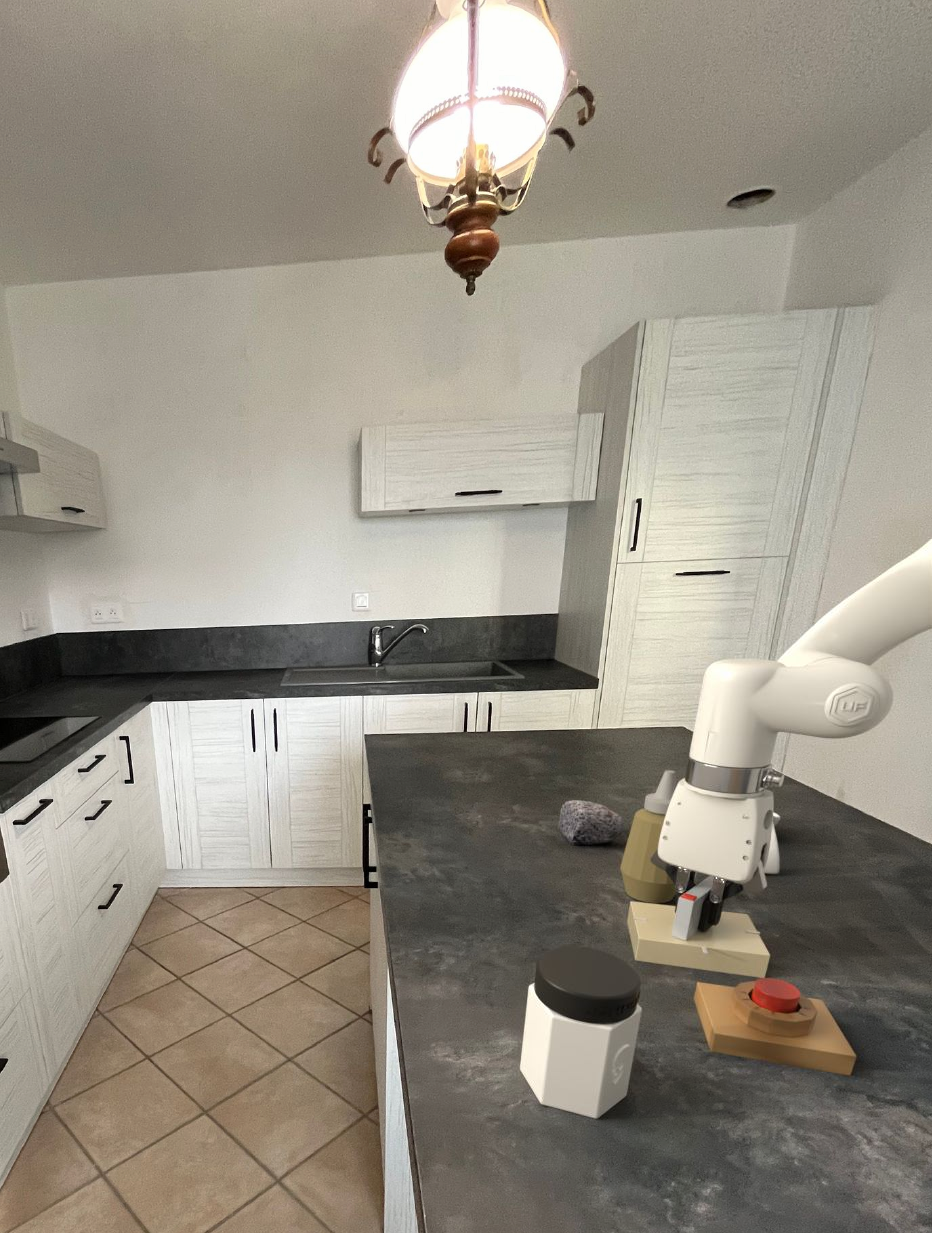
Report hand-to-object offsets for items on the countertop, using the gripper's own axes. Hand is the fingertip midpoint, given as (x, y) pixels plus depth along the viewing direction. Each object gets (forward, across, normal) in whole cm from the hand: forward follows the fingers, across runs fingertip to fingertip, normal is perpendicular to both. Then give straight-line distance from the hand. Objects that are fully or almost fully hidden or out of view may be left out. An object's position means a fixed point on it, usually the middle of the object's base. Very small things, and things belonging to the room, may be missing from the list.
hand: (695, 923), depth 81 cm
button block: (+3, -12, +12) cm, 17 cm away
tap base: (+3, 0, 0) cm, 3 cm away
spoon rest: (+4, +8, -38) cm, 39 cm away
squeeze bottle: (+4, +10, -10) cm, 15 cm away
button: (0, -12, +12) cm, 17 cm away
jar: (+4, -3, +32) cm, 32 cm away
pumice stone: (+4, +25, -23) cm, 35 cm away
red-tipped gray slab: (0, 0, 0) cm, 0 cm away
